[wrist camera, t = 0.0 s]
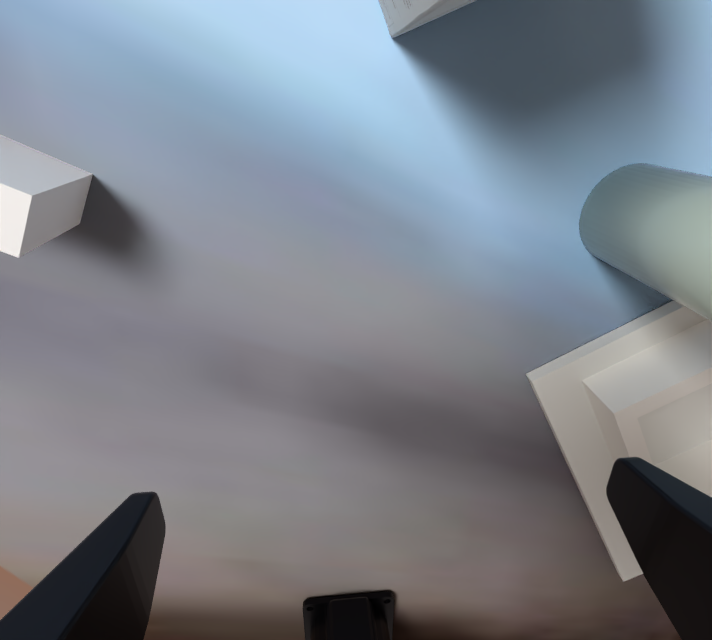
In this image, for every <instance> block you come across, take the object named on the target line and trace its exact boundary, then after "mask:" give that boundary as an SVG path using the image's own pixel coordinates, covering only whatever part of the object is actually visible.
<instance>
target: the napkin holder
mask: <svg viewBox="0 0 712 640" xmlns="http://www.w3.org/2000/svg"><path fill="white" fill-rule="evenodd" d="M92 175H93V174H91V173H89V172H87V171H84V170H82V169H80V168H77V167H75V166H73V165H70V164H68V163H66V162H63V161H61V160H59V159H56V158H54V157H52V156H49V155H47V154H45V153H42V152H40V151H38V150H35V149H33V148H31V147H28V146H26V145H24V144H21V143H19V142H17V141H14V140H12V139H10V138H7V137H5V136H3V135H0V251H2V252H4V253H7V254H10V255H12V256H15V257H18V258H19V257H21V256H23V255H25V254H26V253H28V252H30V251H32V250H34V249H35V248H37V247H39V246H41V245H43V244H45V243H46V242H48V241H50V240H52V239H54V238H55V237H57V236H59V235H61V234H63V233H64V232H66V231H68V230H70V229H72V228H73V227H75V226H77V225H79V224H80V222H81V218H82V214H83V210H84V206H85V202H86V199H87V195H88V191H89V187H90V183H91V179H92Z"/></svg>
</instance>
